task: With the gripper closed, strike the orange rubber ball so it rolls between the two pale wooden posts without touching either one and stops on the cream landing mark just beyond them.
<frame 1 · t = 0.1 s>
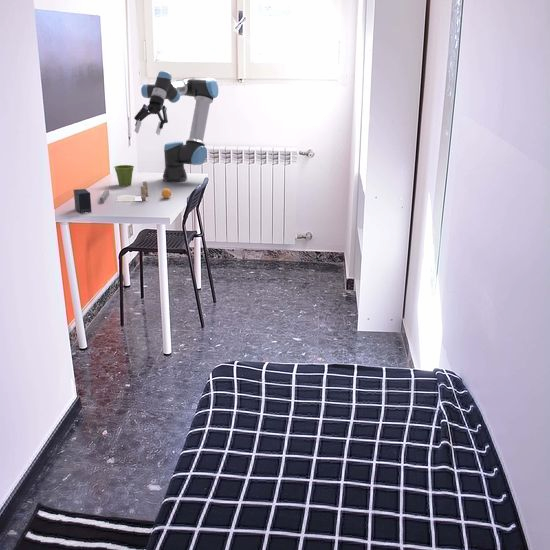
hand: (146, 132, 360), 36 cm above the table, tool tilted 35°, fingers open, 13 cm apart
landing mark: (130, 198, 370), on the table
small box: (83, 211, 345), on the table
stopper wall: (104, 199, 369), on the table
post 2: (145, 195, 376), on the table
post 1: (143, 201, 365), on the table
ball: (166, 193, 371), on the table
plant pot: (125, 185, 402), on the table
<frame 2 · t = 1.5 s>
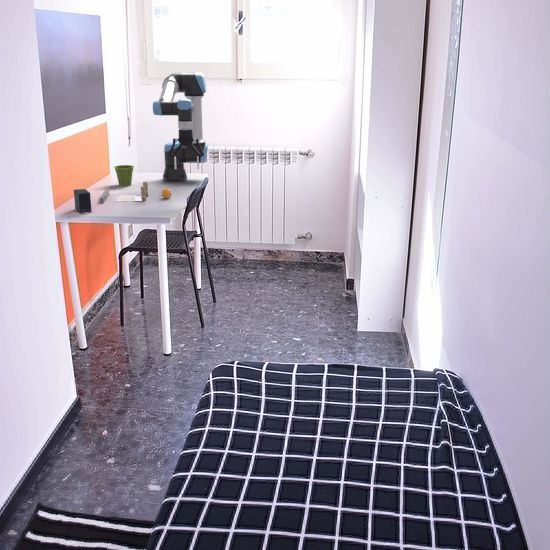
hand: (186, 168, 367), 16 cm above the table, tool pointing down, fingers open, 12 cm apart
nothing on the table moved.
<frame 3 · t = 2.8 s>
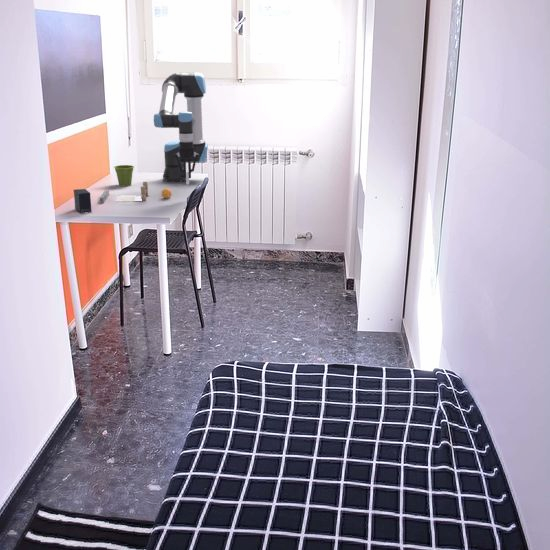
hand: (187, 184, 369), 8 cm above the table, tool pointing down, fingers closed
nothing on the table moved.
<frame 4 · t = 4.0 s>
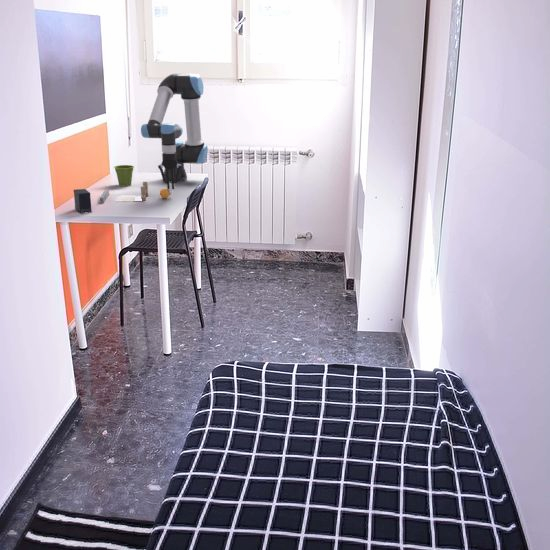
hand: (171, 194, 371), 2 cm above the table, tool pointing down, fingers closed
ball: (164, 193, 370), on the table, touching gripper
everything else where it was.
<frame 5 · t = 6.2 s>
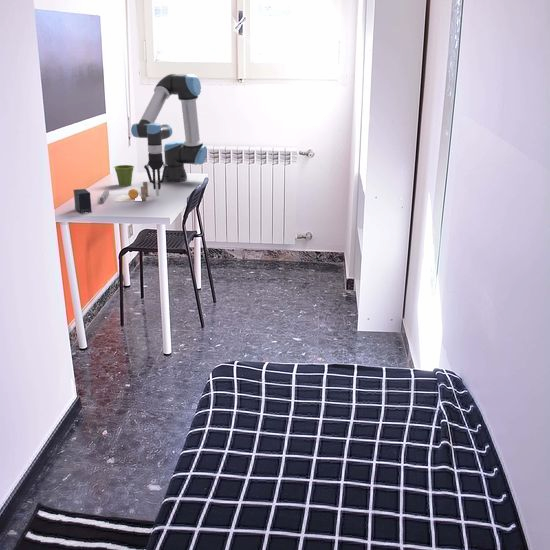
hand: (157, 195, 370), 2 cm above the table, tool pointing down, fingers closed
ball: (133, 193, 369), on the table
everything else where it was.
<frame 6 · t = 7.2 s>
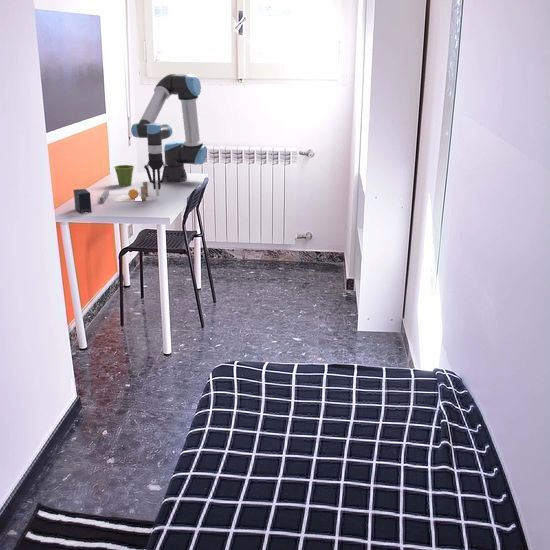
hand: (157, 195, 370), 2 cm above the table, tool pointing down, fingers closed
nothing on the table moved.
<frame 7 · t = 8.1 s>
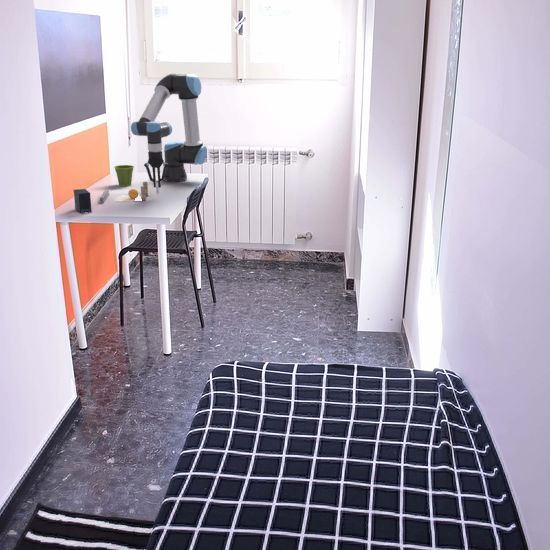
hand: (157, 193, 370), 3 cm above the table, tool pointing down, fingers closed
nothing on the table moved.
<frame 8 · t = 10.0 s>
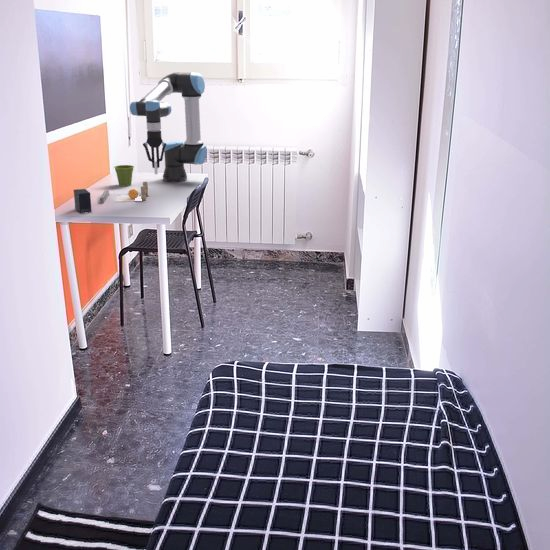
hand: (156, 173, 366), 14 cm above the table, tool pointing down, fingers closed
nothing on the table moved.
at the end: ball 1.9 cm from the landing mark (horizontally); ball never touched post 1; ball never touched post 2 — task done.
